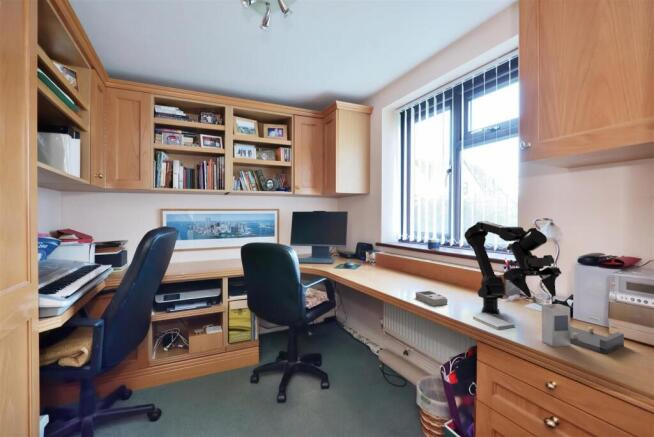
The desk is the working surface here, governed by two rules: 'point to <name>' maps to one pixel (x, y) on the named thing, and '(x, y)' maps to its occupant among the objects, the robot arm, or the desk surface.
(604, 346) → the drive dock
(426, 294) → the handheld gaming device
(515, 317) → the desk surface
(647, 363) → the desk surface
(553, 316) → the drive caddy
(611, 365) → the desk surface
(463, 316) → the desk surface
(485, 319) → the hard drive
